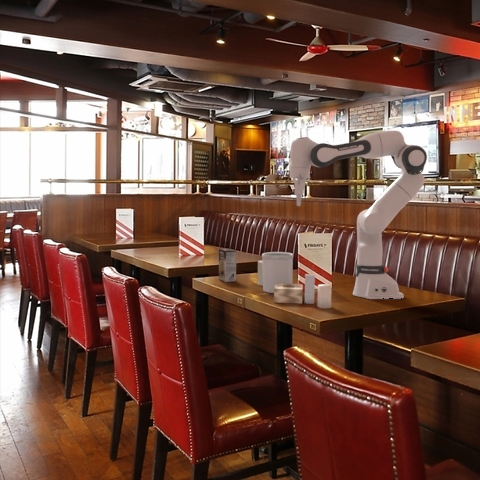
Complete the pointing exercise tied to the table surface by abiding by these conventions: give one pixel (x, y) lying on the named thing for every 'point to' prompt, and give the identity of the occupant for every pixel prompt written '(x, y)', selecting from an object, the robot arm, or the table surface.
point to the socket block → (288, 293)
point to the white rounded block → (324, 296)
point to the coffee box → (227, 265)
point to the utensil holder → (276, 269)
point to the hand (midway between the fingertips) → (298, 205)
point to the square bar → (309, 288)
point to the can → (260, 273)
